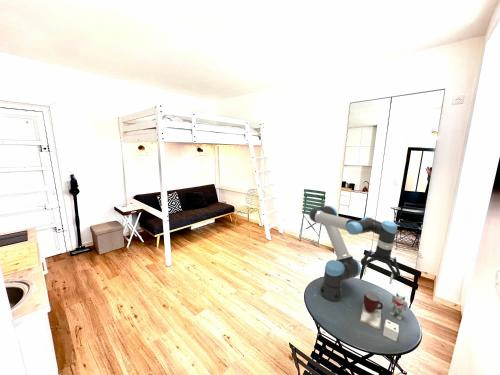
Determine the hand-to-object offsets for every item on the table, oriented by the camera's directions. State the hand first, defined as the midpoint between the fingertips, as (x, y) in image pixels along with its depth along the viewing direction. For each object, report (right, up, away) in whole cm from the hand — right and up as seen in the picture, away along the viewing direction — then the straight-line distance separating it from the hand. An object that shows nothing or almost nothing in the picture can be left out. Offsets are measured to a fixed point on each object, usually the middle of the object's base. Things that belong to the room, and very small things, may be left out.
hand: (376, 278), depth 123 cm
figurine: (+13, -25, +2) cm, 28 cm away
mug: (-1, -22, +4) cm, 23 cm away
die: (0, -27, -11) cm, 29 cm away
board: (-3, -24, +1) cm, 24 cm away
